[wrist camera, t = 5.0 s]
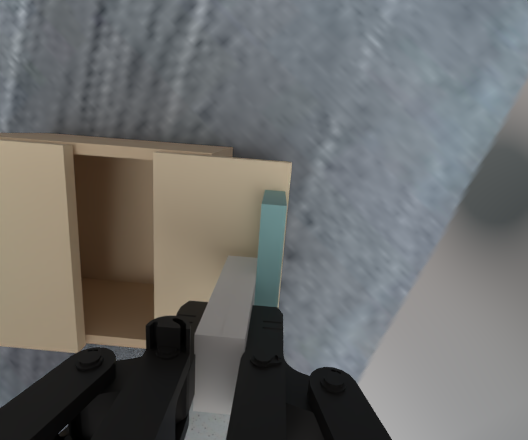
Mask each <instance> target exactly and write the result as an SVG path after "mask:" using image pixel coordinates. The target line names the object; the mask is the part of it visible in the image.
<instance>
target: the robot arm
mask: <svg viewBox="0 0 528 440" xmlns="http://www.w3.org/2000/svg"><path fill="white" fill-rule="evenodd" d="M257 259H258V258H253V257H241V256H229V255H228V257H227V260H226V262H225V264H224V267H223V269H222V271H221V274H220V276H219V278H218V281H217V283H216V285H215V288H214V290H213V292H212V295H211V297H210V299H209V302H201V301H188V302H187V303H185V304H184V305H182V306H181V307H180V309H179V310H178V312H177V314H176V316H162V317H158V318H156V319H153V320H151V321H150V322H149V323H148V324H146V351H145V352H144V354H143V356H141V357H138V358H133V359H127V360H119V361H116V356H115V354H114V352H113V351H111V350H109V349H107V348H100V347H97V348H89V349H86V350H83V351H80V352H78V353H76V354H74V355H72V356H71V357H69V358H68V359H67V360H65V361H64V362H63V363H61V364H60V365H59V366H57V367H56V368H54V369H53V370H52V371H50V372H49V373H48V374H46V375H45V376H44V377H42V378H41V379H40V380H38V381H37V382H35V383H34V384H33V385H31V386H30V387H29V388H27V389H26V390H25V391H23V392H22V393H20V394H19V395H18V396H16V397H15V398H14V399H12V400H11V401H10V402H8V403H7V404H6V405H4V406H3V407H1V408H0V440H184V439H185V436H186V433H187V429H188V426H189V410H190V407H191V404H192V401H193V411H197V412H207V413H217V414H228V415H230V420H229V425H228V431H227V436H226V440H392V439H391V437H390V436H389V434H388V433H387V431H386V429H385V428H384V426H383V425H382V423H381V422H380V420H379V418H378V417H377V415H376V413H375V412H374V410H373V409H372V407H371V405H370V404H369V402H368V400H367V399H366V397H365V396H364V394H363V392H362V391H361V389H360V388H359V386H358V384H357V383H356V381H355V380H354V379H353V378H352V377H351V376H350V375H349V374H347V373H346V372H344V371H342V370H339V369H336V368H332V367H323V368H318V369H316V370H315V371H313V372H312V373H311V375H310V376H308V375H305V374H302V373H300V372H298V371H296V370H294V369H293V368H291V367H290V366H289V365H288V364H287V363H286V361H285V359H284V356H283V314H282V313H281V311H280V310H279V309H278V307H269V306H258V305H254V300H255V286H256V273H257ZM67 424H68V426H67V427H66V428H65V429H64V430H63V431H62V432H60V431H61V430H62V429H63V428H64V427H65V426H66V425H67ZM59 432H60V433H59ZM58 433H59V434H58Z"/></svg>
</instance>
